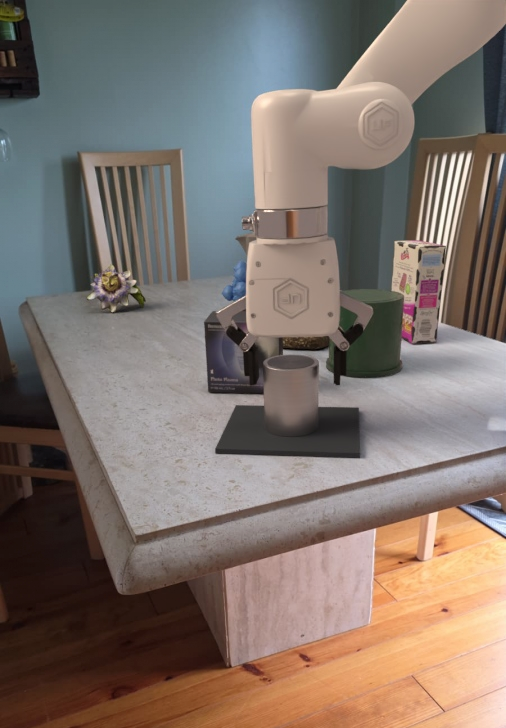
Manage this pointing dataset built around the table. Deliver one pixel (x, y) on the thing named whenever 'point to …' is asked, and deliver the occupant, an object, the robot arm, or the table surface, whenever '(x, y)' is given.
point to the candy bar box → (419, 287)
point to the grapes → (237, 283)
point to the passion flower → (114, 289)
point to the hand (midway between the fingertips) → (295, 381)
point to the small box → (234, 357)
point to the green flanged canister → (373, 335)
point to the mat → (328, 440)
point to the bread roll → (305, 342)
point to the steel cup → (291, 395)
